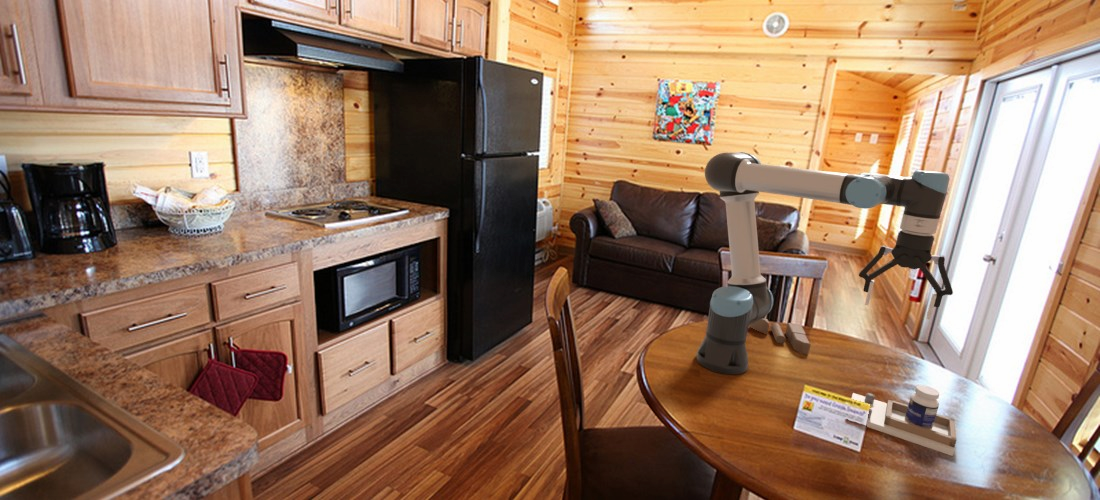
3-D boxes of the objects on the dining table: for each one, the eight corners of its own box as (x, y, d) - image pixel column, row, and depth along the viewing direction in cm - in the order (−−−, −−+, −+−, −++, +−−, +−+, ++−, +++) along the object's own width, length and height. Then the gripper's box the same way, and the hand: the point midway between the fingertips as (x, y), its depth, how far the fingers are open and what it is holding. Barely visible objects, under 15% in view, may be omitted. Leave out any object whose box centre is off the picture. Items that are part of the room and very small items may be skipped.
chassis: (845, 419, 129) (848, 407, 128) (851, 397, 140) (854, 386, 139) (952, 456, 116) (956, 443, 116) (950, 429, 127) (954, 416, 127)
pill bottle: (898, 418, 128) (908, 383, 125) (919, 418, 129) (928, 383, 126) (916, 432, 123) (926, 395, 120) (937, 432, 123) (948, 396, 121)
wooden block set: (801, 320, 180) (812, 341, 164) (798, 335, 182) (809, 356, 165) (751, 313, 185) (757, 332, 168) (749, 327, 186) (754, 347, 169)
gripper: (858, 225, 131) (841, 301, 137) (981, 244, 117) (956, 328, 123) (861, 222, 137) (845, 295, 142) (978, 239, 123) (955, 319, 128)
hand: (896, 310), depth 132 cm, fingers open, 13 cm apart
